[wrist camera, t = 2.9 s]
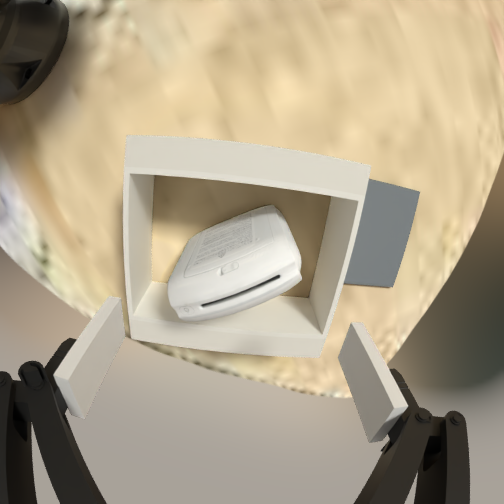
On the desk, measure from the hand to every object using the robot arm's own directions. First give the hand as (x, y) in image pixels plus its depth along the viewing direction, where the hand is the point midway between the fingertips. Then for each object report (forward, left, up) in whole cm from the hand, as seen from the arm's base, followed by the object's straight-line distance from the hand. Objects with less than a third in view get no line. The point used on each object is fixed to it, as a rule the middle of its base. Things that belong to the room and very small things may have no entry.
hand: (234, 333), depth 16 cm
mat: (+16, +2, -16) cm, 22 cm away
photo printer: (0, 0, -16) cm, 16 cm away
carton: (0, 0, -16) cm, 16 cm away
